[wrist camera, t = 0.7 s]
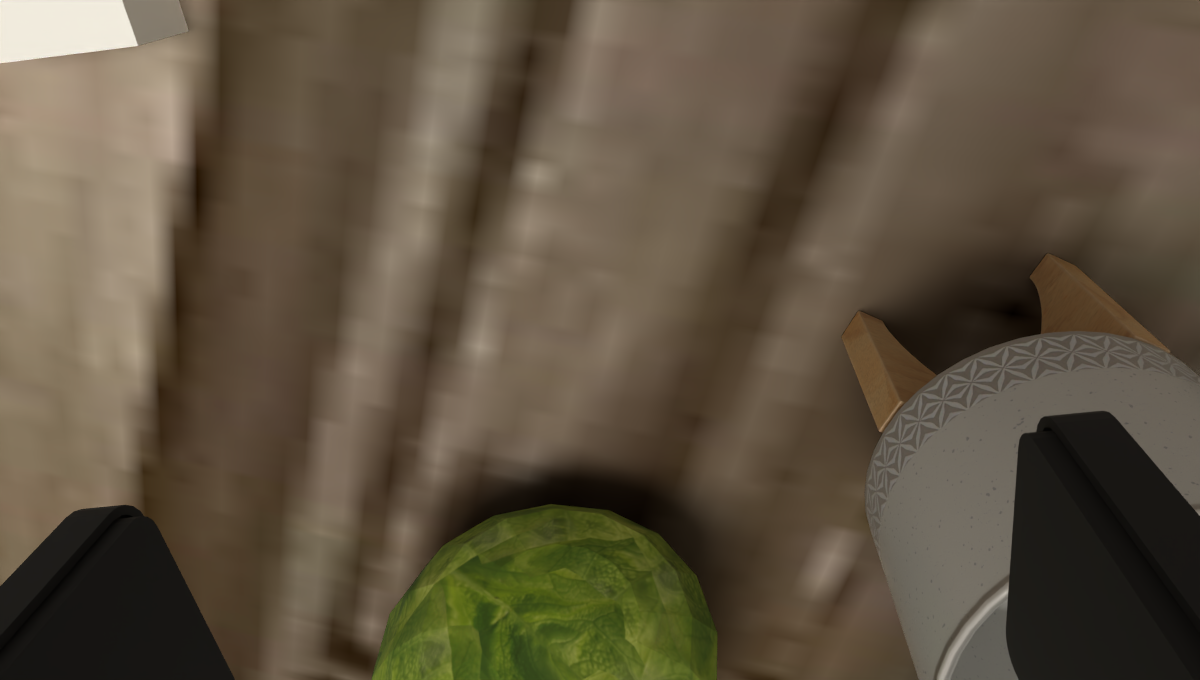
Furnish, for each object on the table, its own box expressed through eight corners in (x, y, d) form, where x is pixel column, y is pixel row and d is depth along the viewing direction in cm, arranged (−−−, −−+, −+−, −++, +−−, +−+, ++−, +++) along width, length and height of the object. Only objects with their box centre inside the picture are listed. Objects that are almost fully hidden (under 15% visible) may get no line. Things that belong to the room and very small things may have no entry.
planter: (930, 198, 36) (1140, 436, 20) (1187, 317, 37) (1565, 624, 22) (778, 431, 42) (848, 758, 26) (1006, 525, 43) (1202, 887, 27)
